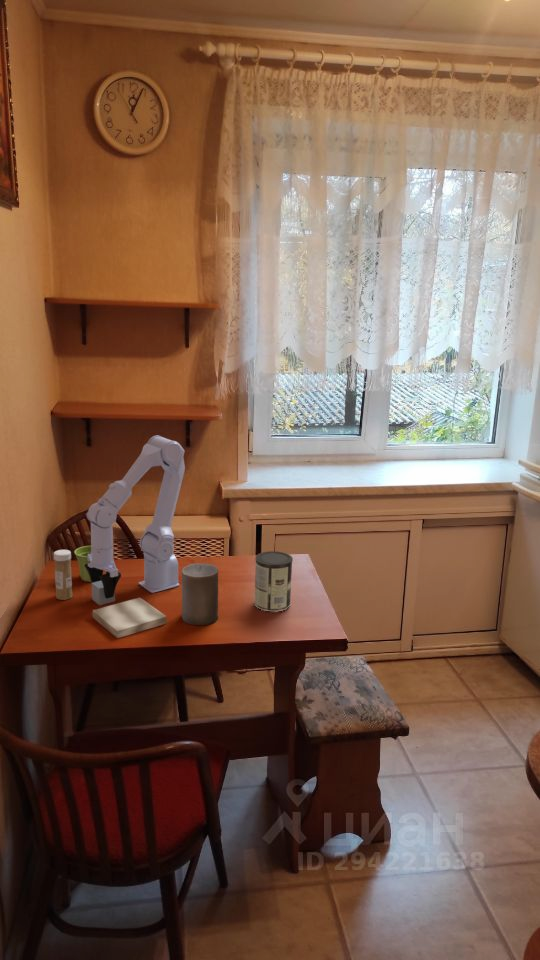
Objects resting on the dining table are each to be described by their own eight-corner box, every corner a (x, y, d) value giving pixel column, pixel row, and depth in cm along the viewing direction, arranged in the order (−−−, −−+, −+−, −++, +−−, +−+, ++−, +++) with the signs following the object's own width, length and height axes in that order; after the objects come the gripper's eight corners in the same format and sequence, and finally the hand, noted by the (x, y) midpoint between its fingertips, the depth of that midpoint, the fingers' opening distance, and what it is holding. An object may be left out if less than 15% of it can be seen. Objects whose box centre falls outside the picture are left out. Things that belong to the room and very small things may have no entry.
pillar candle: (225, 618, 182) (226, 565, 178) (197, 629, 175) (197, 575, 171) (202, 606, 188) (202, 555, 185) (173, 617, 182) (173, 564, 178)
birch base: (140, 604, 188) (139, 597, 188) (166, 623, 178) (166, 616, 177) (92, 617, 179) (92, 610, 179) (117, 638, 169) (117, 631, 169)
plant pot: (82, 570, 209) (82, 544, 207) (112, 573, 208) (111, 546, 206) (70, 582, 200) (69, 555, 198) (100, 585, 199) (100, 557, 197)
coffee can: (271, 593, 198) (273, 548, 195) (297, 605, 191) (300, 558, 188) (246, 604, 191) (247, 557, 187) (273, 616, 184) (275, 567, 180)
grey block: (107, 595, 193) (106, 579, 192) (114, 601, 189) (114, 584, 188) (92, 599, 190) (91, 582, 189) (99, 605, 187) (99, 588, 185)
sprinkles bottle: (74, 598, 190) (73, 553, 187) (58, 601, 188) (56, 556, 184) (69, 592, 194) (67, 547, 190) (53, 595, 191) (51, 550, 188)
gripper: (76, 541, 188) (78, 586, 192) (100, 557, 178) (101, 605, 181) (100, 536, 193) (101, 581, 196) (124, 552, 182) (125, 599, 186)
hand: (103, 592), depth 189 cm, fingers open, 7 cm apart
